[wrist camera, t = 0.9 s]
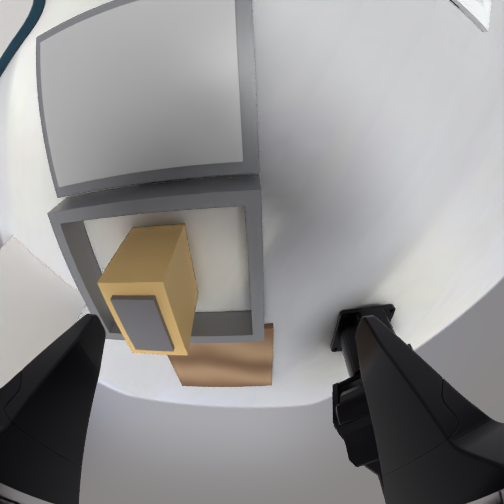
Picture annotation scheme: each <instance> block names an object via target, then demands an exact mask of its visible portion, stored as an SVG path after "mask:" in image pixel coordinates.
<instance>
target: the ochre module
mask: <svg viewBox="0 0 504 504" xmlns="http://www.w3.org/2000/svg"><path fill="white" fill-rule="evenodd" d="M97 284H98V286H99V288H100V290H101V293H102V295H103V297H104V299H105V301H106V303H107V305H108V307H109V309H110V312H111V314H112V316H113V317H114V319H115V321H116V323H117V325H118V327H119V329H120V331H121V333H122V335H123V336H124V338H125V340H126V342H127V344H128V345H129V347H130V349H131V351H132V352H133V353H144V354H161V355H188V351H189V344H190V338H191V332H192V326H193V320H194V314H195V309H196V303H197V298H198V289H197V284H196V280H195V275H194V270H193V265H192V260H191V255H190V250H189V245H188V239H187V234H186V228H185V224H176V225H163V226H150V227H138V228H132V229H131V231H130V232H129V234H128V235H127V236H126V238H125V239H124V241H123V242H122V244H121V245H120V247H119V248H118V250H117V252H116V253H115V255H114V256H113V258H112V259H111V261H110V263H109V264H108V266H107V267H106V269H105V271H104V272H103V274H102V276H101V277H100V279H99V281H98V282H97Z"/></svg>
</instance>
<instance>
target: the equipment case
mask: <svg viewBox="0 0 504 504" xmlns="http://www.w3.org/2000/svg"><path fill="white" fill-rule="evenodd" d="M36 75H37V91H38V102H39V111H40V118H41V125H42V132H43V138H44V143H45V148H46V153H47V158H48V163H49V167H50V171H51V175H52V179H53V183H54V187H55V191H56V194H57V198H60V197H65V196H70V195H75V194H80V193H85V192H90V191H96V190H102V189H108V188H114V187H120V186H127V185H134V184H141V183H149V182H157V181H165V180H174V179H184V178H195V177H206V176H219V175H235V174H254V173H259V151H258V124H257V100H256V77H255V55H254V35H253V16H252V0H114V1H111V2H108V3H106V4H103V5H101V6H98V7H96V8H93V9H91V10H89V11H86V12H84V13H82V14H80V15H77V16H75V17H73V18H71V19H69V20H67V21H65V22H63V23H61V24H59V25H57V26H56V27H54V28H52V29H50V30H48V31H47V32H45V33H43V34H42V35H40V36H38V37H37V38H36ZM236 206H245V214H246V231H247V248H248V265H249V281H250V297H251V311H239V312H202V313H195V314H194V320H193V326H192V332H191V338H190V343H240V342H263V341H264V287H263V242H262V205H261V186H260V180H259V175H251V176H232V177H217V178H204V179H193V180H182V181H172V182H163V183H155V184H147V185H139V186H132V187H125V188H118V189H112V190H106V191H100V192H94V193H88V194H83V195H78V196H72V197H67V198H66V199H64V200H63V201H62V202H61V203H59V204H58V205H57V206H56V207H55V208H53V209H52V210H51V211H50V212H49V213H47V214H48V217H49V220H50V223H51V225H52V228H53V231H54V234H55V236H56V239H57V242H58V244H59V247H60V249H61V252H62V254H63V257H64V259H65V261H66V264H67V266H68V268H69V270H70V273H71V275H72V277H73V279H74V281H75V283H76V285H77V287H78V290H79V292H80V294H81V296H82V298H83V300H84V301H85V303H86V305H87V307H88V309H89V311H90V313H91V314H95V315H97V316H98V317H99V319H100V321H101V323H102V325H103V327H104V329H105V332H106V338H105V339H115V340H125V338H124V336H123V335H122V333H121V331H120V329H119V327H118V325H117V323H116V321H115V319H114V317H113V316H112V314H111V312H110V309H109V307H108V305H107V303H106V301H105V299H104V297H103V295H102V293H101V290H100V288H99V286H98V284H97V282H98V281H99V279H100V277H101V276H102V273H101V271H100V268H99V266H98V263H97V261H96V258H95V256H94V253H93V250H92V247H91V245H90V242H89V239H88V236H87V233H86V230H85V227H84V224H83V220H91V219H99V218H107V217H116V216H125V215H134V214H144V213H154V212H165V211H177V210H190V209H203V208H219V207H236Z"/></svg>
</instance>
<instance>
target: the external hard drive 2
mask: <svg viewBox="0 0 504 504" xmlns="http://www.w3.org/2000/svg"><path fill="white" fill-rule="evenodd" d="M451 1H452V2H454V3H455V4H456V5H457V6H458V8H459V9H460V10H461V11H462V12H463V13H464V14H465V15H466V16H467V17H468V18H469V19H470V20H472V21H473V22H474V23H475V24H476V25H477V27H478V28H479V29H480V30H481V31H482V32H488V28H489V20H490V12H491V1H492V0H451Z"/></svg>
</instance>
